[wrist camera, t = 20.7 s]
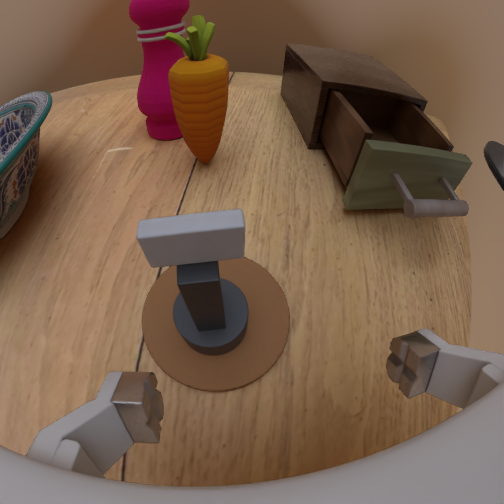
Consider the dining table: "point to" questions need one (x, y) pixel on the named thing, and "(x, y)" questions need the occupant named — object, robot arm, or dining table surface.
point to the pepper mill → (158, 61)
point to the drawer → (391, 156)
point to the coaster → (239, 359)
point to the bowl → (19, 152)
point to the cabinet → (334, 84)
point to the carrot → (199, 90)
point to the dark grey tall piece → (201, 275)
